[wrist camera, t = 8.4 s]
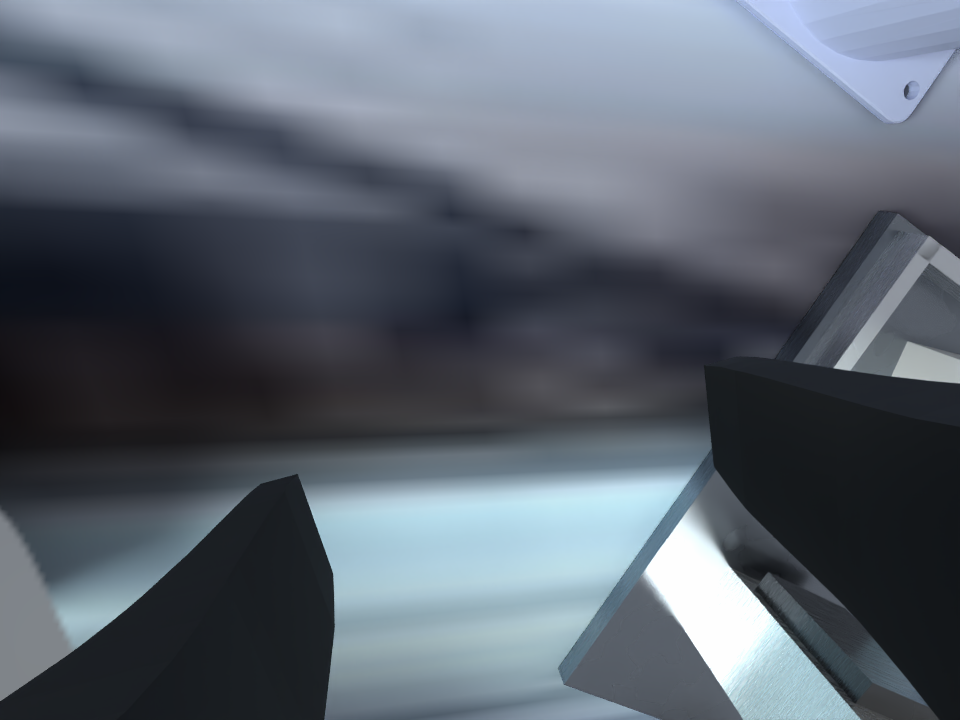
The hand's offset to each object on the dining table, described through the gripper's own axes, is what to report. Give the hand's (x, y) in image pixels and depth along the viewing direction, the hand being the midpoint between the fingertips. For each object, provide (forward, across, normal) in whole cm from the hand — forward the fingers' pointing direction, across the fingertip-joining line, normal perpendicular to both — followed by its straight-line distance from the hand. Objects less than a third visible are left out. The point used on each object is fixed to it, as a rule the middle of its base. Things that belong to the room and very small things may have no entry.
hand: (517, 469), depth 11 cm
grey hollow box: (+9, -12, +11) cm, 19 cm away
